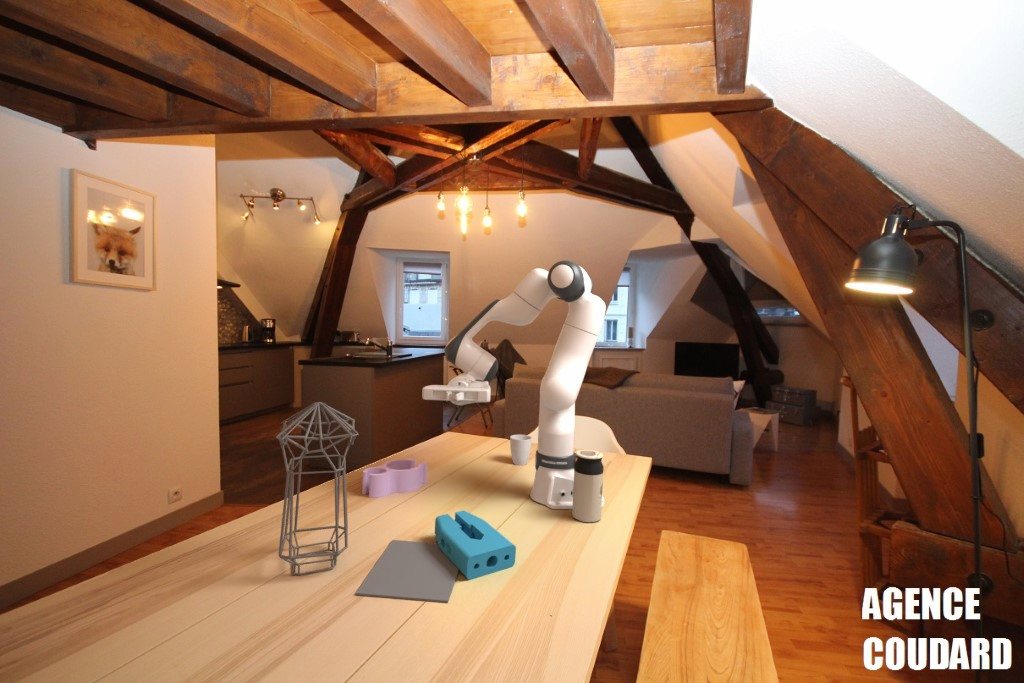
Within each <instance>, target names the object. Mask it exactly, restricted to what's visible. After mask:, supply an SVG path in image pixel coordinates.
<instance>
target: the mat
mask: <svg viewBox="0 0 1024 683" xmlns="http://www.w3.org/2000/svg"><path fill="white" fill-rule="evenodd" d="M459 571H460V570H459V569H458V568H457V567H456V565H455V564H454V563H453V562H452V561H451V560H450V559H449V558H448V557H447V556H446V554H445V553H444V552H443V551H442V550H441V549H440V547H439V544H438V542H428V541H427V542H425V541H424V542H423V541H414V540H412V541H411V540H400V539H392V540H391V541H390V543H389V544H388V546H387V547H386V549H385V551H384V552H383V553H382V555H381V556H380V557H379V559H378V561H376V563H375V564H374V565H373V567H372V569H371V570H370V571H369V573H368V575H367V576H366V578H365V579H364V580H363V581H362V583H361V585H360V586H359V588H358V589H357V590H356V592H355V596H364V597H373V598H374V597H375V598H384V599H398V600H409V601H411V600H412V601H422V602H423V601H425V602H436V603H445V604H446V603H449V601H450V597H451V595H452V592H453V590H454V587H455V583H456V580H457V577H458V575H459Z"/></svg>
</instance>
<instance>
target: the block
mask: <svg viewBox="0 0 1024 683" xmlns="http://www.w3.org/2000/svg"><path fill="white" fill-rule="evenodd" d="M434 520H435V521H434V534H435V538H436V542H437V543H438V544H439V547H440V549H441V550H442V551H443V552H444V553H445V554H446V556H447V557H448V558H449V559H450V560H451V561H452V562H453V563H454V564H455V565H456V567H457V568H458V569H459V571H460V572H461V574H463V575H464V577H465V578H466V579H467V580H468V581H470V580H474V579H477V578H480V577H483V576H486V575H491V574H493V573H495V572H500V571H502V570H507V569H510V568H512V567H513V566H515V564H516V563H515V562H516V553H517V552H516V551H517V547H516V545H515V544H513V543H512V542H511V541H510V540H509V539H507V538H506V537H505V535H503V534H501V533H500V532H499V531H497V529H496V528H494V527H493V526H492V525H491V524H489V522H487V521H486V520H485V519H483V518H480V517H479V516H477V515H475V514H473V513H470V512H468V511H466V510H460V511H456V512H454V518H453V517H452V516H451V515H449V513H446V514H441V515H438V516H436V518H435V519H434Z"/></svg>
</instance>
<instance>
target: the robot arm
mask: <svg viewBox="0 0 1024 683" xmlns="http://www.w3.org/2000/svg"><path fill="white" fill-rule="evenodd" d="M593 290H594V283H593V281H592V278H591V276H590V274H588V273H587V271H586V270H585V269H584V268H583V267H582V266H580V265H578V263H576V262H574V261H572V260H559V261H557V262H556V263H554V264H553V265H551V267H550V269H549V270H546V269H544V268H540V267H538V268H534V269H532V270H530V271H529V272H528V273H527V274H526V275H525V276H524V277H523V278H522V279H521V280H520V281H519V283H517V285H516V286H515V288H514V290H513V291H512V292H511V293H510V294H509V295H508V296H507V297H505V298H503V299H494V300H493V301H492V302H491V303H489V304H488V305H487V306H486V307H484V309H482V311H480V312H479V313H478V314H477V315H476V316H475V317H474V318H473V319H472V320H471V321H470V322H469V323H468V324H467V325H466V326H465V327H464V328H463V329H462V330H461V331H460V332H459V333H458V334H456V335H455V336H453V338H451V339H450V340H449V341H448V342H447V343H446V345H445V347H444V355H445V358H446V361H447V362H449V363H450V364H452V365H454V366H456V367H458V369H460V370H462V371H463V373H460V374H458V375H456V376H455V377H453V378H451V380H450V381H449V382H448V383H447V384H446V385H445V384H430V385H425V386H423V387H422V392H421V393H422V394H421V395H422V396H421V398H422V400H425V401H445V402H446V401H449V402H451V403H452V404H453V405H456V406H465V405H469V404H475V403H476V404H477V403H478V404H479V403H490V402H491V394H492V393H491V391H492V390H491V385H489V384H490V383H491V382H492V380H493V379H494V378H495V376H496V375H497V373H498V371H499V361H498V358H496V357H495V356H493V355H492V354H491V353H490V352H488V351H487V350H485V349H484V348H482V347H481V346H480V345H478V343H476V342H475V341H474V340H473V338H474V336H476V335H477V333H479V332H480V331H481V330H482V329H483V328H484V327H485V326H486V325H487V324H488V323H490V322H493V321H494V322H495V321H496V322H501V323H504V324H505V323H506V324H509V325H513V326H518V327H519V326H522V327H523V326H527V325H530V324H531V323H533V322H534V321H535V320H536V319H537V317H539V315H540V314H541V313H542V311H543V310H544V308H545V307H546V305H547V304H548V303H549V302H550V301H551V300H553V299H555V298H556V299H558V300H561V301H564V302H566V303H567V304H568V312H567V315H566V318H565V321H564V322H563V325H562V328H561V331H560V333H559V336H558V338H557V341H556V344H555V347H554V349H553V352H552V355H551V358H550V361H549V364H548V366H547V368H546V371H545V373H544V375H543V377H542V379H541V381H540V388H539V412H538V413H539V414H538V430H537V431H538V432H537V449H536V451H535V460H534V466H535V474H534V480H533V485H532V488H531V491H530V493H529V495H530V496H529V497H530V498H531V499H532V500H533V501H535V502H536V503H539V504H542V505H544V506H547V507H548V508H549V509H552V510H572V507H573V487H574V466H575V462H576V460H577V455H576V452H574V449H575V448H574V447H575V428H576V426H575V424H576V423H575V422H576V420H575V419H576V418H575V417H576V401H577V398H578V397H579V396H578V395H579V394H580V393H579V392H580V390H581V387H582V384H583V382H584V379H585V375H586V372H587V368H588V365H589V362H590V359H591V357H592V355H593V352H594V349H595V346H596V344H597V341H598V338H599V336H600V333H601V330H602V327H603V325H604V321H605V316H606V310H607V308H606V303H605V301H604V300H603V299H602V298H601V297H600V296H598V295H595V294H593ZM604 506H605V497H604V495H603V494H602V508H603V507H604Z"/></svg>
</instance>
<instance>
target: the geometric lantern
mask: <svg viewBox="0 0 1024 683" xmlns="http://www.w3.org/2000/svg"><path fill="white" fill-rule="evenodd" d="M311 413H312V415H311V418H310V420H309V421H303V420H305V419H306V417H308V416H309V415H310V414H311ZM321 413H322V414H323V417H324V419H325V421H322V420H321V419H322V418H321ZM327 414H328V415H329V416H330V417H331V419H333V420H331V421H330V420H329V417H328V416H327ZM313 421H314V422H313ZM350 421H351V424H349V423H348V422H350ZM355 422H356V421H355V419H354V418H352V417H351V416H348V415H346V414H345V413H343V412H340V411H339V410H337V409H335V408H333V407H331V406H329V405H328V404H327V403H326V402H321V401H316V402H313V403H311V404H309V405H308V406H306V407H305V408H303V409H301V410H299V411H298V412H296V413H295V414H293V415H291V416H290V417H288V418H286V419H285V420H283V421H281V422H280V425H281V424H282V425H283V427H282V429H280V432H279V433H278V434H277V435H276V436H275V439H277V441H279V446H280V447H281V451H282V457H283V462H284V467H285V472H286V479H285V488H284V497H283V498H284V499H283V508H282V517H281V518H282V519H281V527H280V538H279V548H278V557H279V558H280V559H281V560H284V561H285V562H287V563H289V564H290V565H292V567H291V568H292V569H291V570H292V572H291V573H292V576H297V577H298V576H302V575H303V576H304V575H309V574H313V573H319V572H325V571H330V570H333V569H334V568H335V567H336V566H337V560H338V559H337V558H338V556H339V555H341V554H342V553H343V552H344V551H345V550H347V549H348V548H349V546H348V544H349V543H348V542H349V540H348V538H349V534H348V533H349V532H348V530H349V529H348V528H349V527H348V526H349V525H348V521H349V520H348V500H347V499H348V497H347V469H346V468H347V467H346V466H347V465H346V462H347V461H346V457H347V454H348V451H349V449H350V446H353V445H354V442H355V439H356V437H357V436H359V435H360V434H359V432H358V431H357V430H356V429H355ZM287 423H289V424H288V425H287ZM335 423H337V426H336V427H335V428H334V429H332V430H331V431H330V428H331V424H335ZM300 424H301V425H300ZM302 425H307V428H306V427H304V426H302ZM312 425H313V426H314V431H312V430H311V428H312ZM322 425H325V426H326V425H328V426H327V432H326V433H323V430H322V428H323V427H322ZM317 427H318V433H316V432H317ZM295 428H299V429H301V430H303V431H305V435H289V434H290V433H291V432H292V431H294V429H295ZM340 428H342V429H343V431H344V432H345V433H346V434H345V433H344V434H338V435H332V434H333V433H335V432H336V431H337V430H338V429H340ZM287 431H288V432H287ZM309 434H310V435H311V436H309ZM330 435H331V436H330ZM348 438H349V440H348V443H347V445H346V448H345V451H344V454H343V455H341V454H340V453H339V452H340V451H338V449H337V447H336V445H337V444H340V443H341V442H343V441H345V440H346V439H348ZM293 439H300V440H301V439H302V440H303V441H304V446H303V445H301V444H300V443H298V442H296V441H295V440H293ZM333 439H338V440H336V441H332V440H333ZM327 440H328V441H329V442H330V444H329V445H327V446H324V447H323V441H327ZM312 441H319V446H320V447H319V448H320V449H318V448H317V449H313V450H309V448H308V447H309V445H310V443H311V442H312ZM288 442H289V443H291V444H292V445H293V446H295V447H297V448H298V449H301V453H300V455H299V456H296V457H295V455H294V453H293V451H292V450H291V448H290V445H289V444H288ZM285 446H286V447H287V450H289V452H290V456H291V457H292V458H290V459H289V462H288V458H287V455H286V450H285ZM332 447H333V449H334V450H335V452H336V453H337V454H327V452H326V450H328V449H330V448H332ZM315 453H322V455H310V454H315ZM308 454H309V456H308ZM331 457H337V458H338V459H337V460H338V462H337V464H338V465H337V468H336V466H335V465H334V463H333V462H332V460H331V459H330V458H331ZM311 458H312V459H313V458H326V460H327V461H328V463H329V465H330V466H331V468H332V469H333V470H321V471H320V470H319V471H302V466H303V465H302V464H303V459H311ZM296 460H298V462H296V464H295V461H296ZM297 467H298V472H294V470H295V469H296V468H297ZM341 472H342V473H341ZM328 473H329V474H330V473H334V516H335V517H334V522H335V525H330V526H318V527H310V528H309V527H308V528H301V529H297V528H298V517H299V516H298V515H299V505H300V503H299V502H300V493H301V492H300V491H301V490H300V489H301V481H302V480H301V478H302V477H301V476H302V475H309V474H311V475H312V474H313V475H314V474H328ZM341 474H342V501H343V503H342V504H343V505H342V506H343V526H341V525H339V520H340V518H339V517H340V496H341V495H340V492H341ZM295 475H297V486H296V487H297V488H296V489H297V490H296V500H295V513H294V491H295V490H294V489H295V487H294V486H295ZM294 516H295V517H294ZM293 517H294V521H293ZM293 522H294V524H293ZM293 525H294V526H293ZM293 527H294V528H293ZM288 528H289V532H288ZM328 529H334V530H333V532H332V535H331V537H330V539H329V540H328V541H322V542H317V543H316V542H315V543H309V544H305V545H299V543H298V539H297V534H296V533H302V532H312V531H321V530H328ZM339 529H340V530H343V532H341V533H340V535H339ZM343 535H344V547H343V548H341V549H340V550H339V539H340V538H341V537H342V536H343ZM288 536H289V537H288ZM293 537H294V541H295V545H296V547H295V545H294V544H293ZM334 537H335V540H334V541H333V539H334ZM286 541H287V542H288V555H284V554H283V552H284V547H285V544H286ZM325 544H327V549H322V550H316V551H312V552H311V551H310V552H305V553H300V552H299V551H300V548H308V547H312V546H314V547H315V546H320V545H325ZM330 545H331V546H330ZM330 547H331V548H330ZM292 550H293V551H292ZM324 552H325V553H324ZM292 553H293V555H292ZM329 556H332V558H328V559H319V560H313V561H307V562H300V563H298V562H297V561H296V560H298V559H308V558H320V557H329ZM324 562H331V564H330V565H331V567H325V568H321V569H315V570H310V571H305V572H301V566H304V565H309V564H318V563H324ZM296 567H297V569H296ZM296 570H297V573H296Z"/></svg>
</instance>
